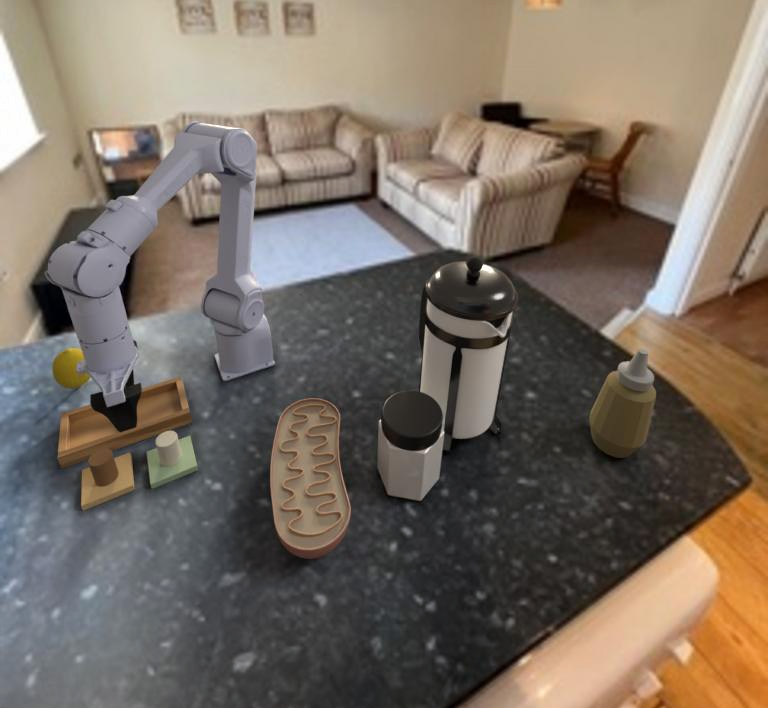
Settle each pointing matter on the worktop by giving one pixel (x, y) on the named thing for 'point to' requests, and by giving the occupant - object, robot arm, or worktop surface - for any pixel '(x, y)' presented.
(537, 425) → the worktop surface
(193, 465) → the sage pad
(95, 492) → the sand pad
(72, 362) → the lemon
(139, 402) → the divided wooden tray
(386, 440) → the jar
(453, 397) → the coffee press
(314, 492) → the anatomical model
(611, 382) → the squeeze bottle
